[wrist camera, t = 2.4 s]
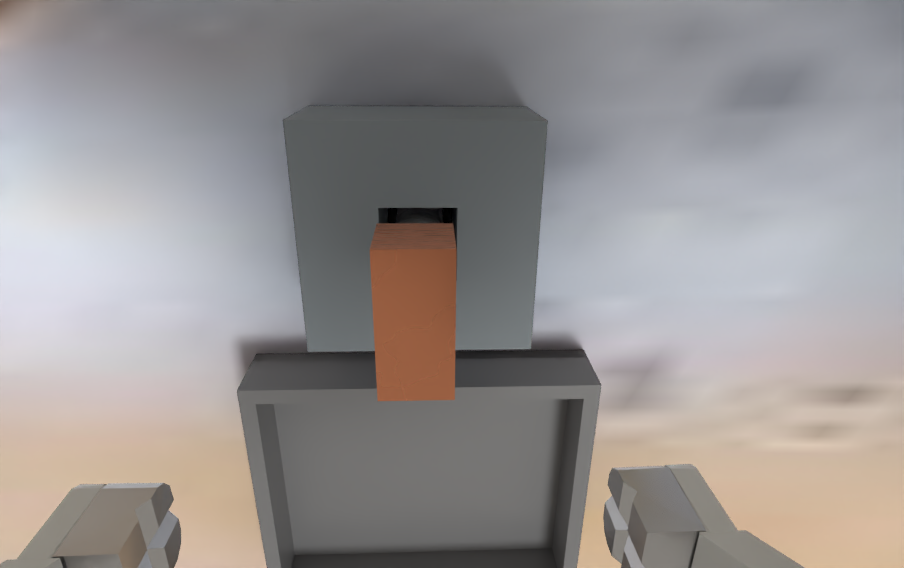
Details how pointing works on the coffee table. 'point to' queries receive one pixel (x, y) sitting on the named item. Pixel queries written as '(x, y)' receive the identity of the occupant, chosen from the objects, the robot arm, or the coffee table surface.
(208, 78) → the coffee table surface
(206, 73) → the coffee table surface
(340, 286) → the hitch block
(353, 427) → the tray
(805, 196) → the coffee table surface
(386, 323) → the pin
